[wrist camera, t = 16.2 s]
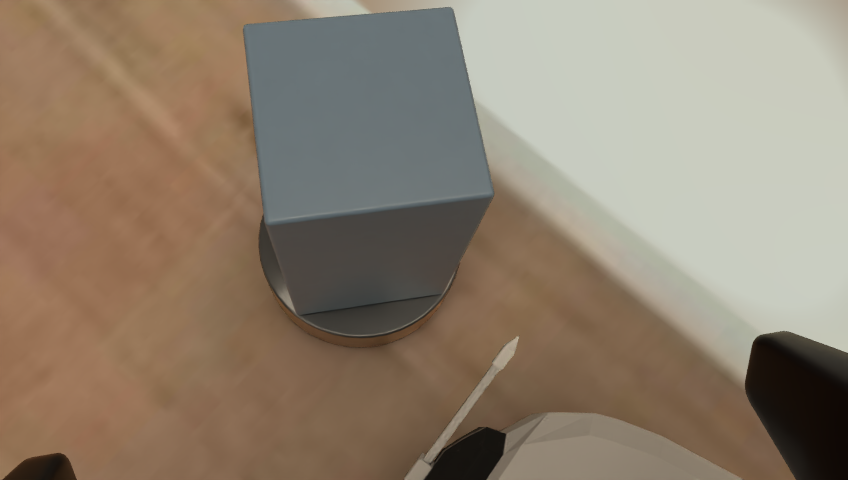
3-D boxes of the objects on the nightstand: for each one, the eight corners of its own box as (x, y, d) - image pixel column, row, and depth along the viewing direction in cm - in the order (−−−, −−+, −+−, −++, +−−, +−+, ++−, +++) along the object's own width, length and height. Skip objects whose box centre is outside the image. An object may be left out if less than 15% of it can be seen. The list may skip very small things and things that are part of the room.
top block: (444, 294, 19) (496, 195, 12) (296, 316, 18) (264, 224, 11) (419, 161, 20) (453, 4, 13) (279, 177, 19) (241, 22, 13)
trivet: (443, 360, 19) (451, 351, 18) (247, 333, 19) (238, 322, 18) (463, 182, 21) (471, 161, 20) (284, 154, 21) (279, 131, 20)
